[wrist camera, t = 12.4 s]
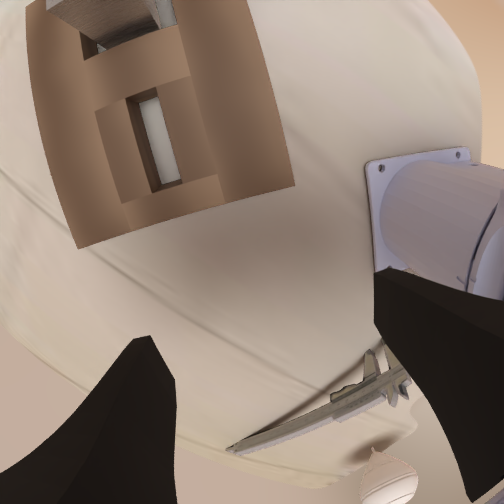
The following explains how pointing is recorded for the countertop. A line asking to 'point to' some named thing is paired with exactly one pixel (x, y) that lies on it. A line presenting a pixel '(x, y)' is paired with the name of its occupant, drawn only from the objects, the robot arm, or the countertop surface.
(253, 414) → the countertop surface
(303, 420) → the caliper
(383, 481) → the spinning top
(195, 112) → the socket block
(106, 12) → the peg
